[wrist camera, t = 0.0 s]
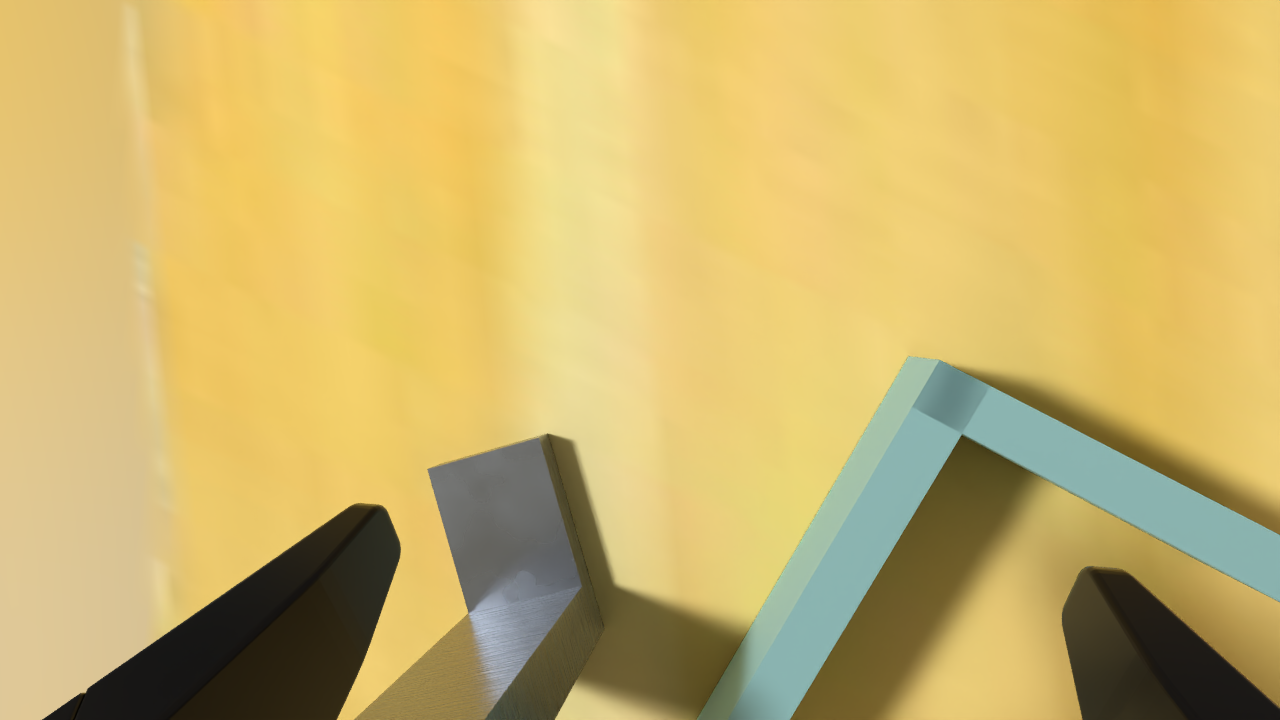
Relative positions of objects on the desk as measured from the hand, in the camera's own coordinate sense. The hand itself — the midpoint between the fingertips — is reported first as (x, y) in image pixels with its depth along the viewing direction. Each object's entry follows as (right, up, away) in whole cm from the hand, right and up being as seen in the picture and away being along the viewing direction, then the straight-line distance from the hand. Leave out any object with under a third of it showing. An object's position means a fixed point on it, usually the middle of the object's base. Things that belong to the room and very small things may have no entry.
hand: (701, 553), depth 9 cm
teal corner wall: (+9, -7, +14) cm, 18 cm away
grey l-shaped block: (-5, -4, +16) cm, 18 cm away
